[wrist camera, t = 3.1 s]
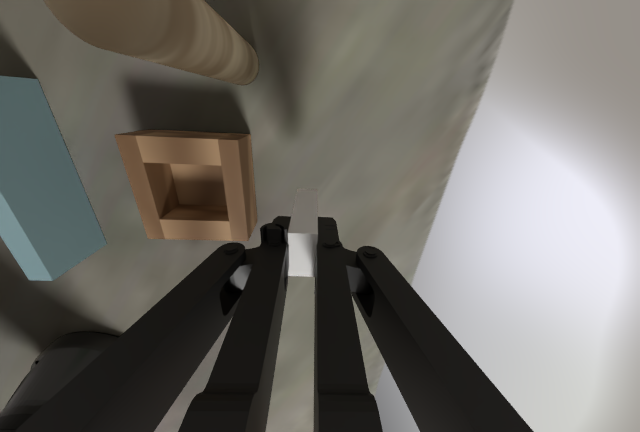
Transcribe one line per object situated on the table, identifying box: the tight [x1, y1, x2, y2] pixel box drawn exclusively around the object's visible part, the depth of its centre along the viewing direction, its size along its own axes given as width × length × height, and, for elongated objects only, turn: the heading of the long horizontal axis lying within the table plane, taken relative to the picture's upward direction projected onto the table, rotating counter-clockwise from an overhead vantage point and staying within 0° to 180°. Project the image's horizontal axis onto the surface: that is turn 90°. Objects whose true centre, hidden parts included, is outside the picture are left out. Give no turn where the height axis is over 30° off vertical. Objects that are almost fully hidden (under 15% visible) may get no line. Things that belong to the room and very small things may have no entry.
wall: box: [0, 76, 107, 281], centre depth 20 cm, size 2×16×6 cm, turn 177°
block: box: [115, 129, 257, 241], centre depth 21 cm, size 9×9×4 cm
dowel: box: [44, 0, 259, 85], centre depth 13 cm, size 3×3×14 cm
